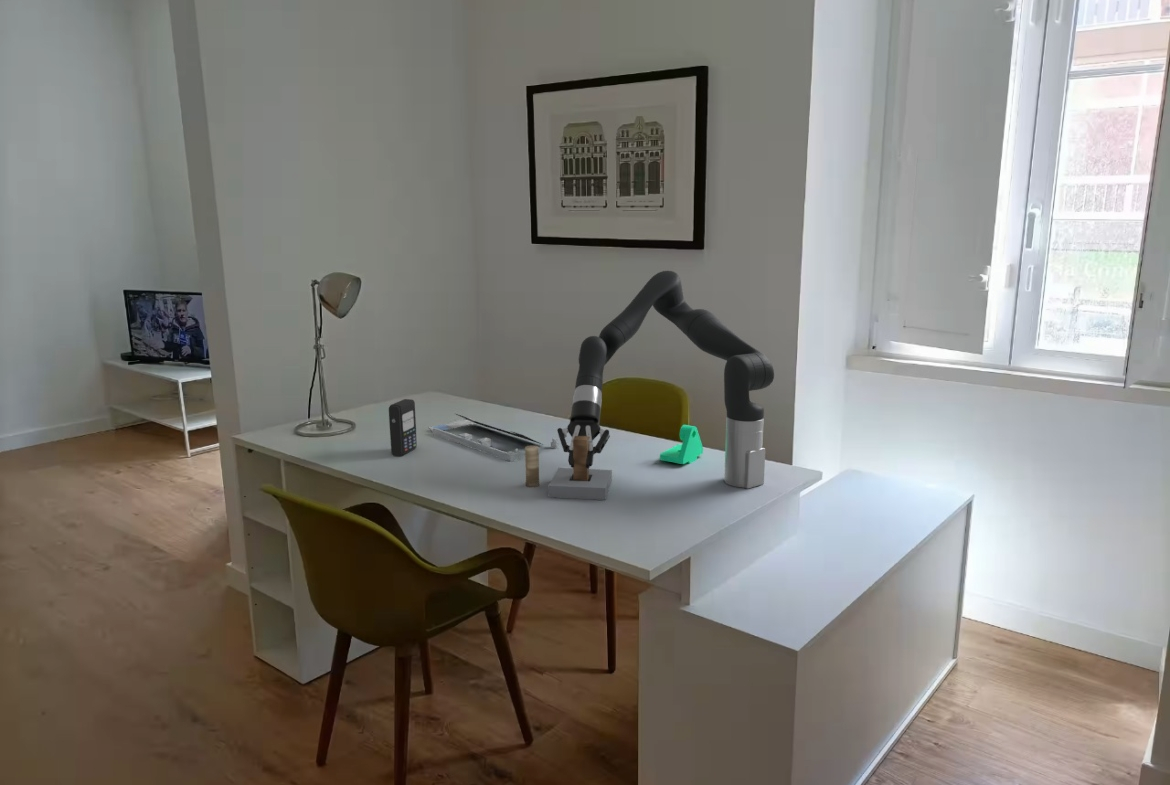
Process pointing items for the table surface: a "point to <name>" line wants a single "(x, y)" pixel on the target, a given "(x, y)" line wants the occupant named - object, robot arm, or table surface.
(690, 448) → the camera mount
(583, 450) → the walnut bar
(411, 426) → the card reader
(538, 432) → the table surface
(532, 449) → the beech dowel
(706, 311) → the robot arm
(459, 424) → the paper cutter
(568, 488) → the bore plate
